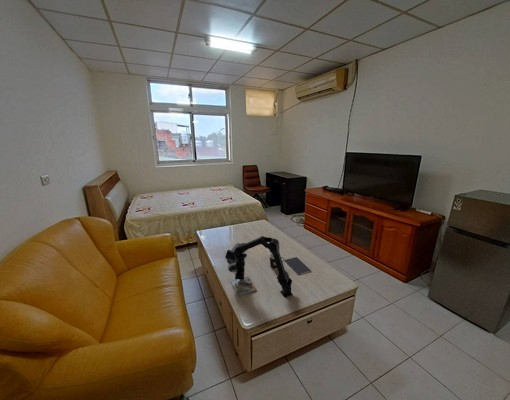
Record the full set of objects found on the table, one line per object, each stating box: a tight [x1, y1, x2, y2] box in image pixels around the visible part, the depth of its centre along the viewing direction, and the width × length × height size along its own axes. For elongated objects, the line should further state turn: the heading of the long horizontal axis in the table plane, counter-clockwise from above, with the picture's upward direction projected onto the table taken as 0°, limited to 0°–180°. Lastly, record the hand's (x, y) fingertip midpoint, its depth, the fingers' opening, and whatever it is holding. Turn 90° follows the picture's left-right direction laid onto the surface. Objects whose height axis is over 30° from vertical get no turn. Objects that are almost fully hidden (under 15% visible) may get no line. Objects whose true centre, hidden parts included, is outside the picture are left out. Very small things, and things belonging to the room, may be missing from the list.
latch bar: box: [238, 278, 252, 285], centre depth 156 cm, size 10×3×3 cm, turn 81°
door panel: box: [230, 276, 258, 298], centre depth 154 cm, size 16×14×4 cm
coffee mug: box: [269, 253, 285, 270], centre depth 176 cm, size 12×9×10 cm
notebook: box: [284, 256, 312, 276], centre depth 179 cm, size 13×2×21 cm
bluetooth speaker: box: [226, 242, 241, 265], centre depth 188 cm, size 23×9×10 cm, turn 168°
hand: (240, 279), depth 159 cm, fingers closed
